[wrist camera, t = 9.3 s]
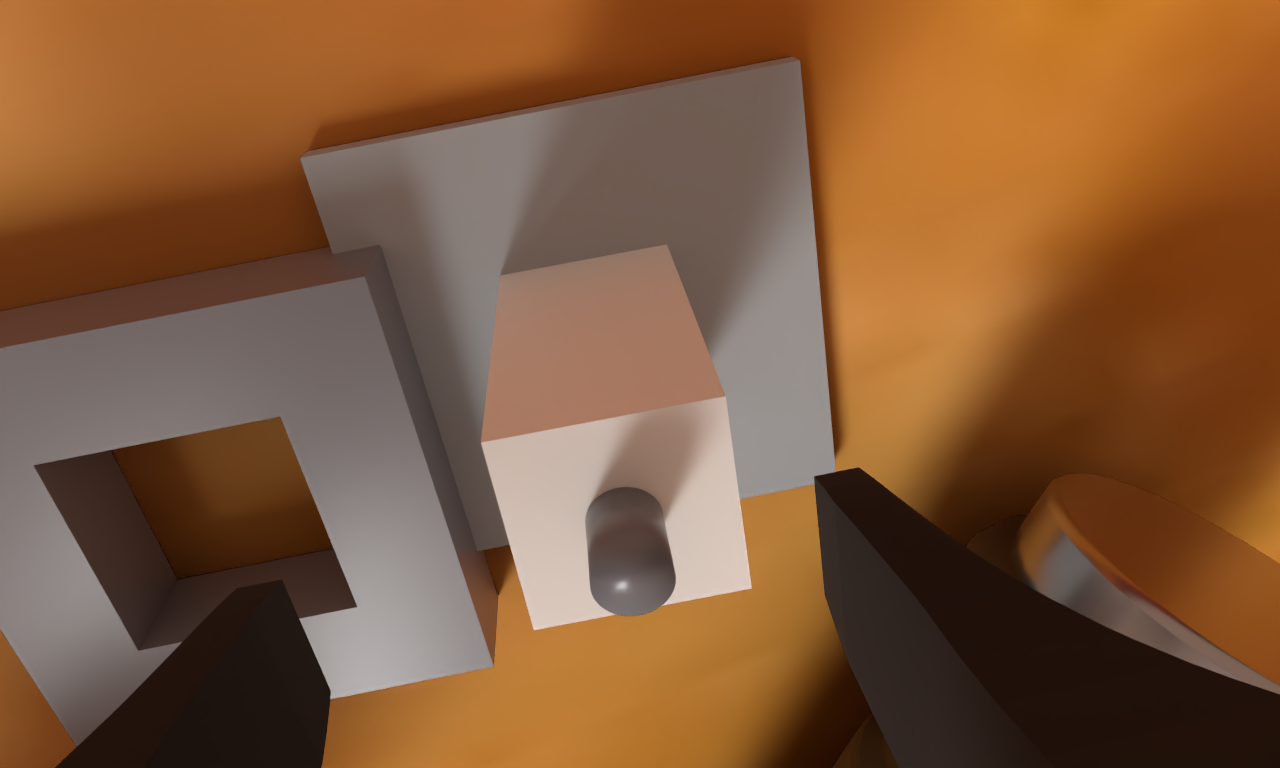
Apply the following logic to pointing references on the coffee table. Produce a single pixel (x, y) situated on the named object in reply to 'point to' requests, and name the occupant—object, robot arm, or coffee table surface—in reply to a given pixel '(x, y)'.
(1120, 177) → the coffee table surface
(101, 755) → the robot arm
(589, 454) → the plug
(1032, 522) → the muzzle brake
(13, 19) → the coffee table surface
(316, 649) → the socket block
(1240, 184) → the coffee table surface
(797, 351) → the rubber pad
